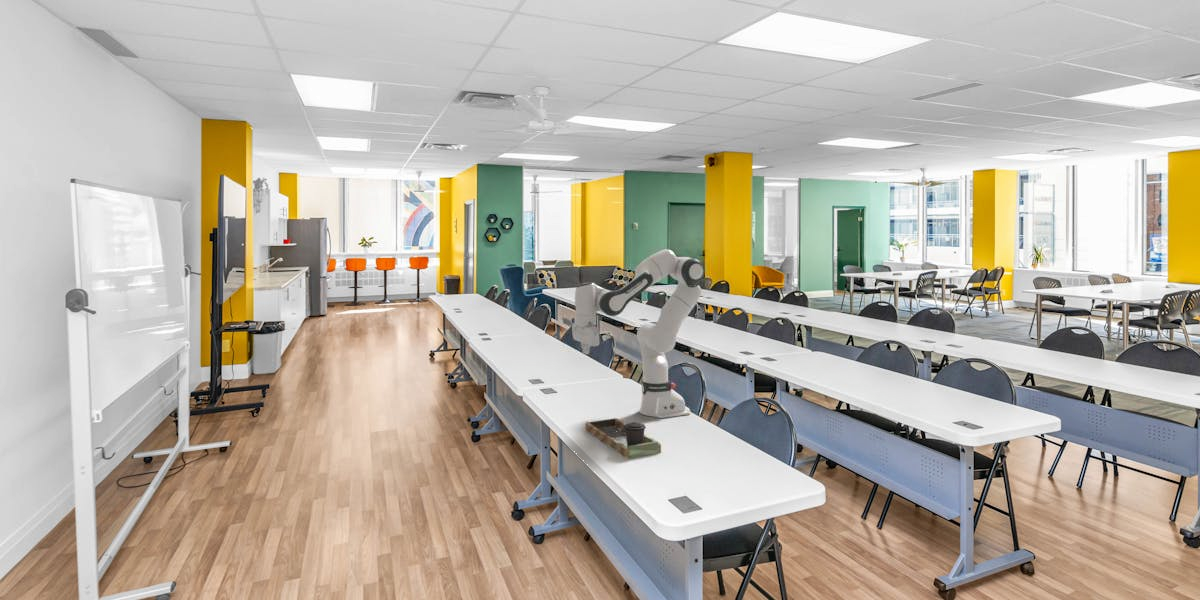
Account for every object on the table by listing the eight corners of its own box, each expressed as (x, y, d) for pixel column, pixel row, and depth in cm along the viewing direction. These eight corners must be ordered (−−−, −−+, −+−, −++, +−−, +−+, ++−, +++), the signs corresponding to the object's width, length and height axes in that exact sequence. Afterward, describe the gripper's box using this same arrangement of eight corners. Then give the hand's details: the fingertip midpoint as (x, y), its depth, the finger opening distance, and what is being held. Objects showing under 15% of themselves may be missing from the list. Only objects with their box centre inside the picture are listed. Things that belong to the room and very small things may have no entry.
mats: (592, 430, 256) (592, 430, 256) (614, 427, 260) (614, 426, 260) (604, 438, 246) (604, 438, 246) (627, 435, 250) (627, 434, 250)
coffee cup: (636, 445, 239) (636, 419, 237) (650, 451, 232) (650, 424, 231) (619, 449, 234) (619, 423, 233) (632, 455, 227) (632, 428, 226)
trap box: (585, 429, 257) (585, 420, 257) (616, 425, 263) (616, 415, 263) (627, 458, 225) (627, 447, 224) (660, 452, 231) (661, 441, 230)
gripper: (603, 323, 257) (603, 357, 258) (582, 317, 275) (583, 348, 277) (589, 324, 254) (589, 358, 256) (569, 318, 273) (569, 350, 274)
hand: (585, 353), depth 266 cm, fingers closed
